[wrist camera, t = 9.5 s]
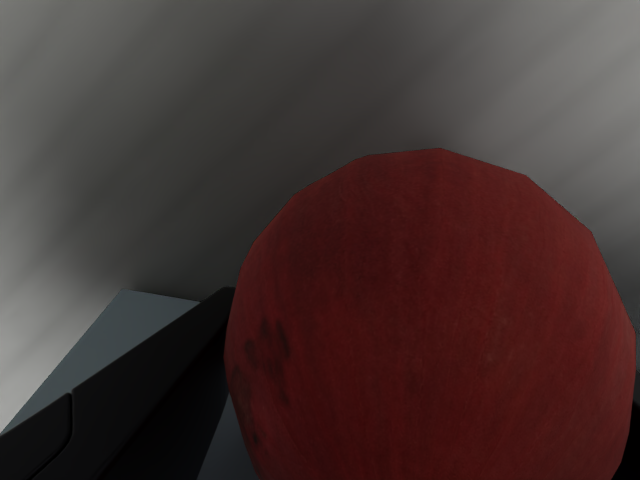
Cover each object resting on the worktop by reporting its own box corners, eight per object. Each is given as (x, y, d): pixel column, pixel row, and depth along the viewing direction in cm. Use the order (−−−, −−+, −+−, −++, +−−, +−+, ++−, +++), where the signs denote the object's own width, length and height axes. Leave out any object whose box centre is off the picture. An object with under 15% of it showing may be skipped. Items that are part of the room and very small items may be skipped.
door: (792, 402, 12) (1218, 770, 6) (764, 431, 12) (1127, 791, 6) (122, 288, 11) (-111, 565, 6) (124, 324, 12) (-85, 608, 6)
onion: (367, 363, 12) (294, 827, 5) (252, 193, 11) (-90, 502, 3) (584, 288, 10) (1033, 937, 3) (478, 58, 8) (847, 144, 1)
